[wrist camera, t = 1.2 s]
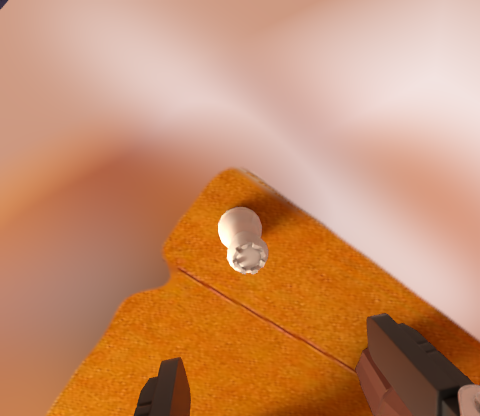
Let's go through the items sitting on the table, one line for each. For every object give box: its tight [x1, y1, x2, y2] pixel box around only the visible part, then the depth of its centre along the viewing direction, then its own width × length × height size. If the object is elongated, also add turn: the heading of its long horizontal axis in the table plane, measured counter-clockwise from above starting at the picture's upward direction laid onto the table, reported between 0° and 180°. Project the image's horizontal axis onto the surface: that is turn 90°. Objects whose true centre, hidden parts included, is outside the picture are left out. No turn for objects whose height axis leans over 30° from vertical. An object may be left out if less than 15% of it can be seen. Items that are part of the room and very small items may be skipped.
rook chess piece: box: [218, 207, 268, 275], centre depth 24 cm, size 4×4×8 cm
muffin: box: [355, 348, 469, 416], centre depth 29 cm, size 12×11×10 cm
